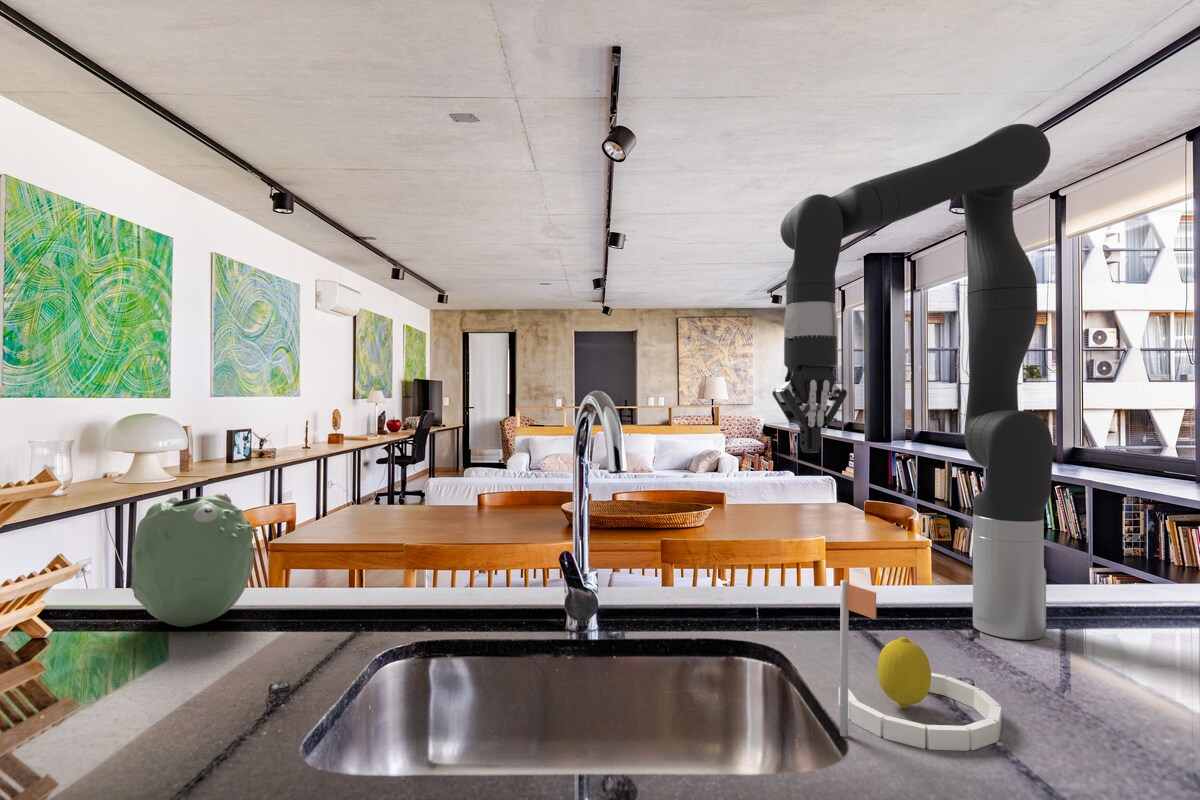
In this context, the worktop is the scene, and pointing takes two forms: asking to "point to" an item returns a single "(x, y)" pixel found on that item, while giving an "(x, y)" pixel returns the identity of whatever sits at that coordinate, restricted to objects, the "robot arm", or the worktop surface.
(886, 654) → the lemon
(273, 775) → the worktop surface
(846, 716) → the white arc
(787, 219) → the robot arm
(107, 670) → the worktop surface
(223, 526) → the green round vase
